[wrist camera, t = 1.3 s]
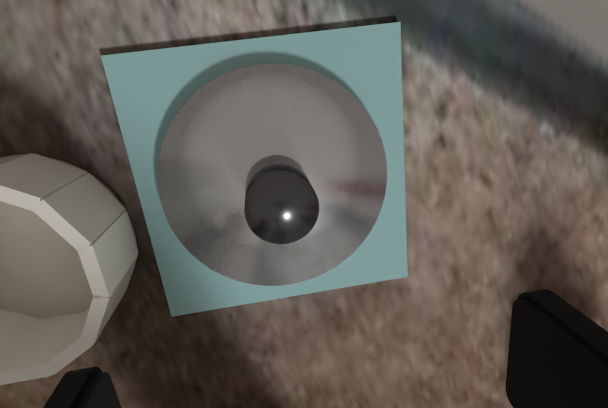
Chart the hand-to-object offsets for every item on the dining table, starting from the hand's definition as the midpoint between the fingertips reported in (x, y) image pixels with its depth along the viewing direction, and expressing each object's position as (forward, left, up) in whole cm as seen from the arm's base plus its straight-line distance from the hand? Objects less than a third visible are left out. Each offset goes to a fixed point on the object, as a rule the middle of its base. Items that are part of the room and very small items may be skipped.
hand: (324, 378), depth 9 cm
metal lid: (0, 0, -18) cm, 18 cm away
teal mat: (0, 0, -18) cm, 18 cm away
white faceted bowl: (-2, +16, -18) cm, 25 cm away
